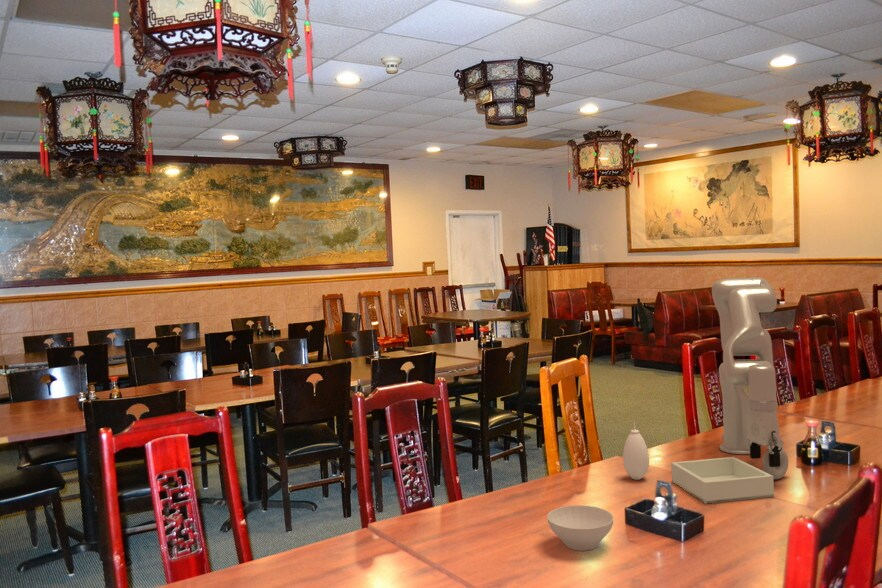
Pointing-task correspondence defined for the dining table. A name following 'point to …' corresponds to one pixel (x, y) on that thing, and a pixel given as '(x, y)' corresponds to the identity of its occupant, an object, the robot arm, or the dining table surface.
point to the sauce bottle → (635, 455)
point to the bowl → (580, 525)
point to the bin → (722, 480)
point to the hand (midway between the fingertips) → (764, 462)
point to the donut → (775, 471)
